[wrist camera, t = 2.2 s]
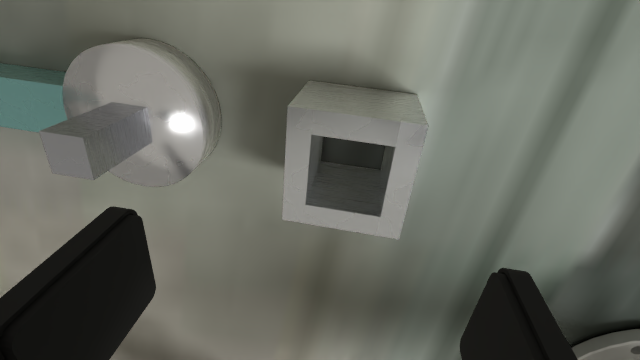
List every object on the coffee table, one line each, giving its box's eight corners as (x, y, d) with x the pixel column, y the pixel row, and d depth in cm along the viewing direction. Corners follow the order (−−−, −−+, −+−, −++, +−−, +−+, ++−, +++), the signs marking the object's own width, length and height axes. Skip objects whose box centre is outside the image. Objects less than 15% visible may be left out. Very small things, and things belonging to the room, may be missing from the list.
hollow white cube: (417, 94, 18) (428, 125, 14) (395, 188, 21) (399, 239, 17) (309, 80, 19) (287, 106, 14) (302, 174, 21) (282, 219, 17)
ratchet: (218, 47, 19) (139, 72, 13) (224, 176, 22) (166, 244, 16) (-48, 14, 20) (-235, 22, 14) (0, 141, 24) (-129, 191, 18)
